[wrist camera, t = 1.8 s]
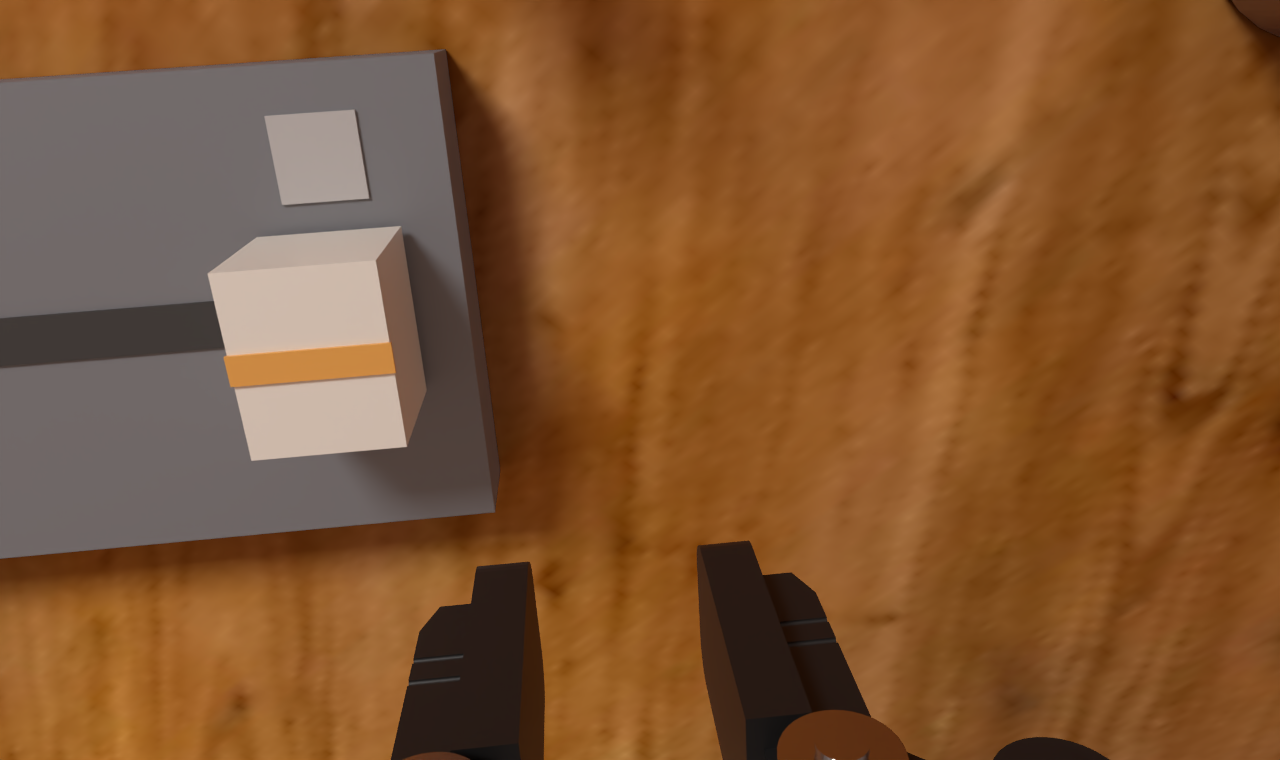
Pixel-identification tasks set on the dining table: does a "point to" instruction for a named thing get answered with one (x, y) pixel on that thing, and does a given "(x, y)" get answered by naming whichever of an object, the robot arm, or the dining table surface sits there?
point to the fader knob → (321, 342)
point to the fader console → (183, 302)
